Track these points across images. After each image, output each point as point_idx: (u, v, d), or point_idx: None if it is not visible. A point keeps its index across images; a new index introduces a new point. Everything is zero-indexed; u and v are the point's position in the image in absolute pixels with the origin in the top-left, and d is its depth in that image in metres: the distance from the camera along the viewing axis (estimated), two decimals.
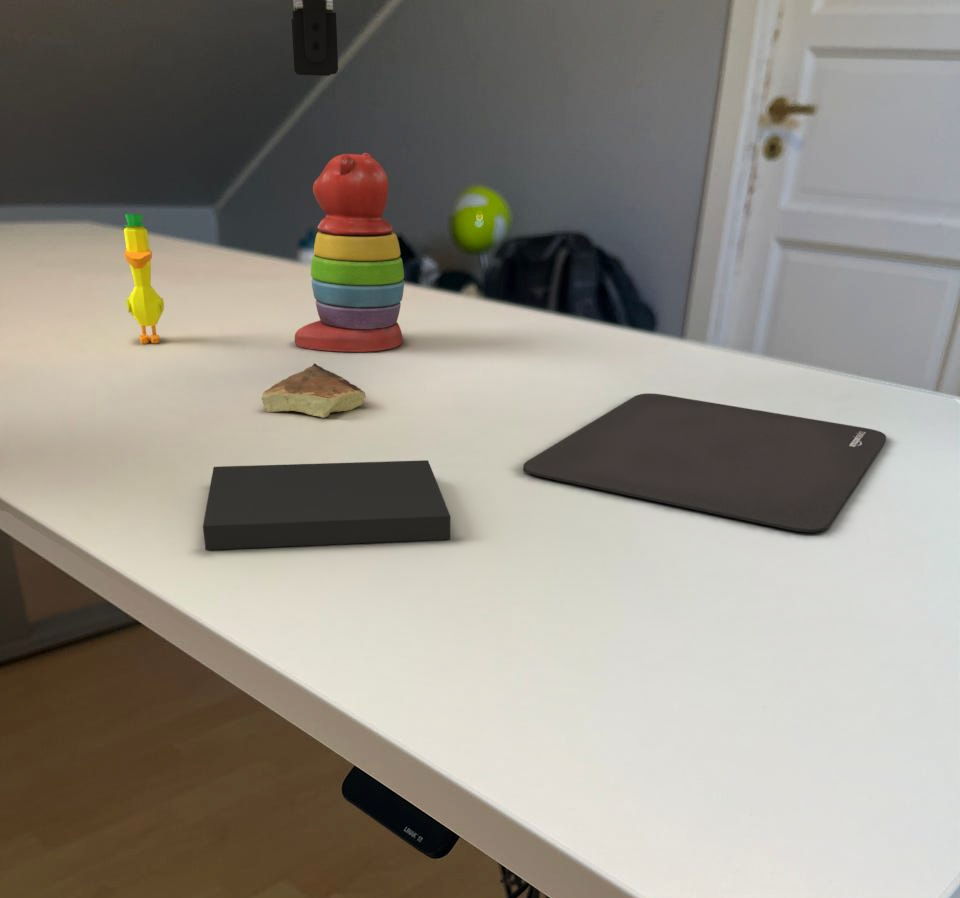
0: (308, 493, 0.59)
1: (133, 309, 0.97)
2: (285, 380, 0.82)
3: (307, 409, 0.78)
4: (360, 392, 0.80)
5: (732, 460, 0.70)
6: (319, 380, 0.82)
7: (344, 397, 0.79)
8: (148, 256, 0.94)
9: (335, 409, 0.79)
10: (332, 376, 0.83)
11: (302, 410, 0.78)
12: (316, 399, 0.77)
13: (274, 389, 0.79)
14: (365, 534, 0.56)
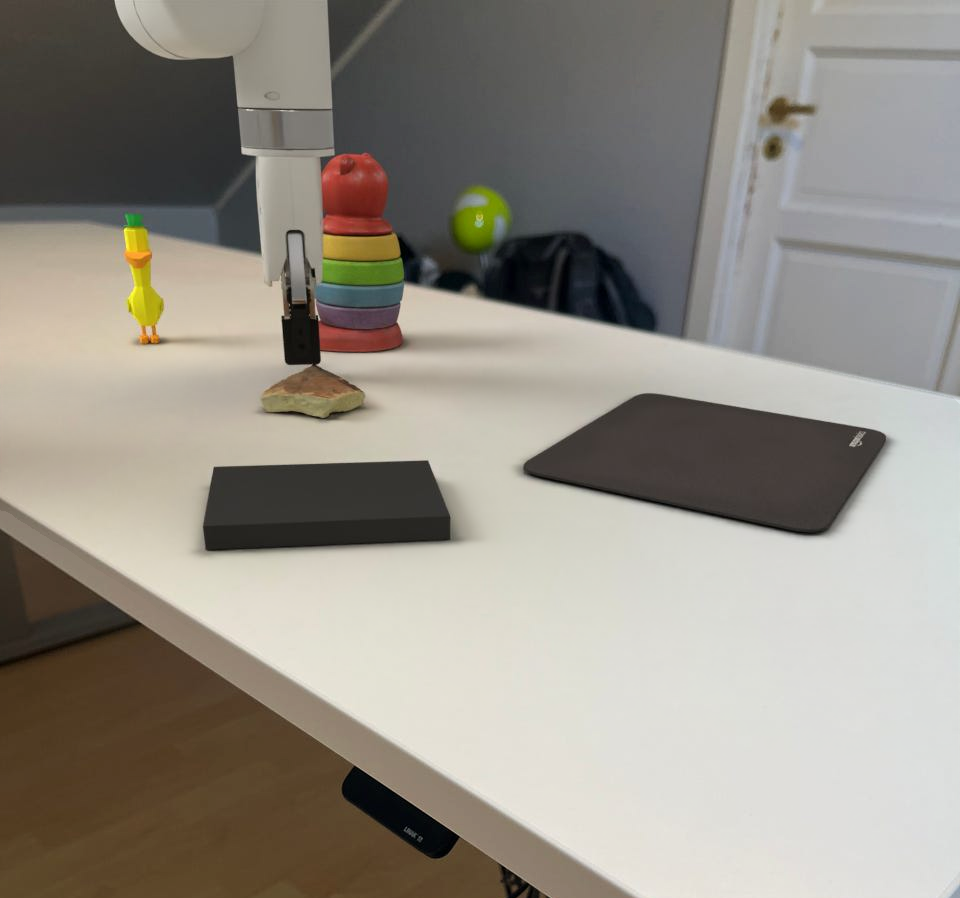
0: (308, 493, 0.59)
1: (133, 309, 0.97)
2: (284, 380, 0.82)
3: (307, 409, 0.78)
4: (360, 392, 0.80)
5: (732, 460, 0.70)
6: (318, 380, 0.81)
7: (344, 397, 0.79)
8: (148, 256, 0.94)
9: (335, 409, 0.79)
10: (331, 376, 0.83)
11: (302, 410, 0.78)
12: (316, 399, 0.77)
13: (273, 389, 0.79)
14: (365, 534, 0.56)
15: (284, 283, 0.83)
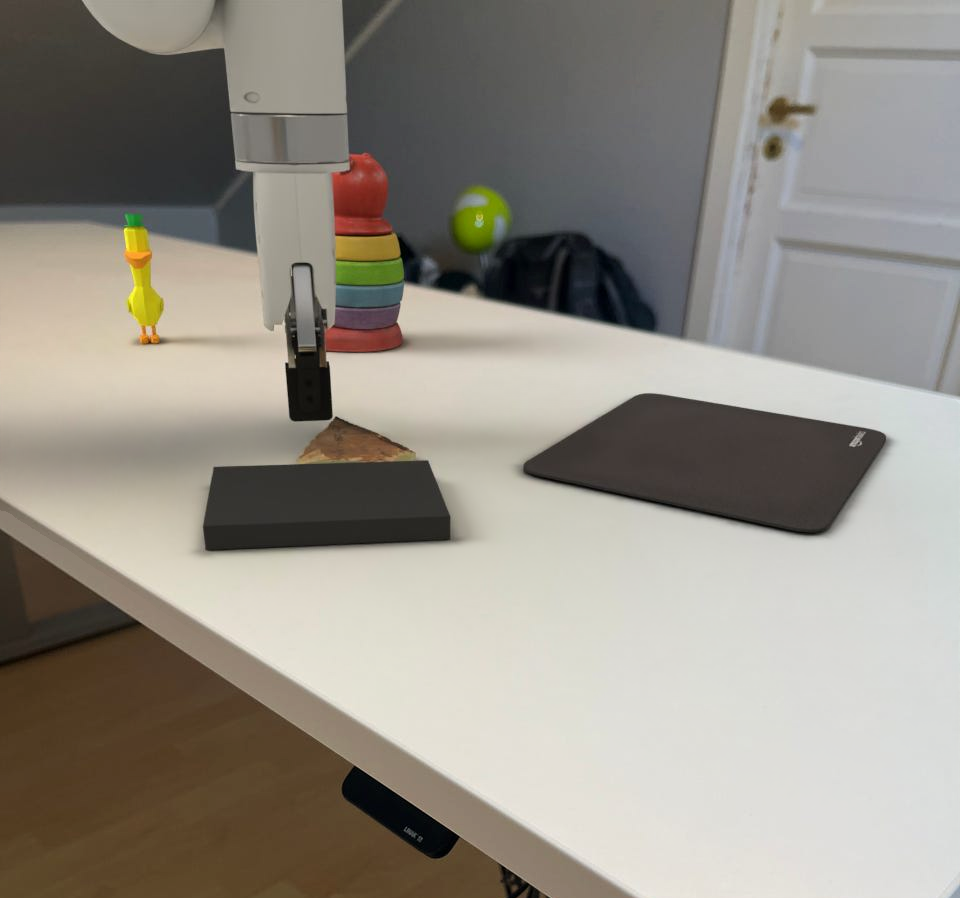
0: (308, 493, 0.59)
1: (133, 309, 0.97)
2: (315, 441, 0.69)
3: None
4: (410, 452, 0.68)
5: (732, 460, 0.70)
6: (356, 439, 0.69)
7: (395, 460, 0.67)
8: (148, 256, 0.94)
9: None
10: (367, 433, 0.71)
11: None
12: None
13: (309, 454, 0.67)
14: (365, 534, 0.56)
15: (288, 325, 0.68)
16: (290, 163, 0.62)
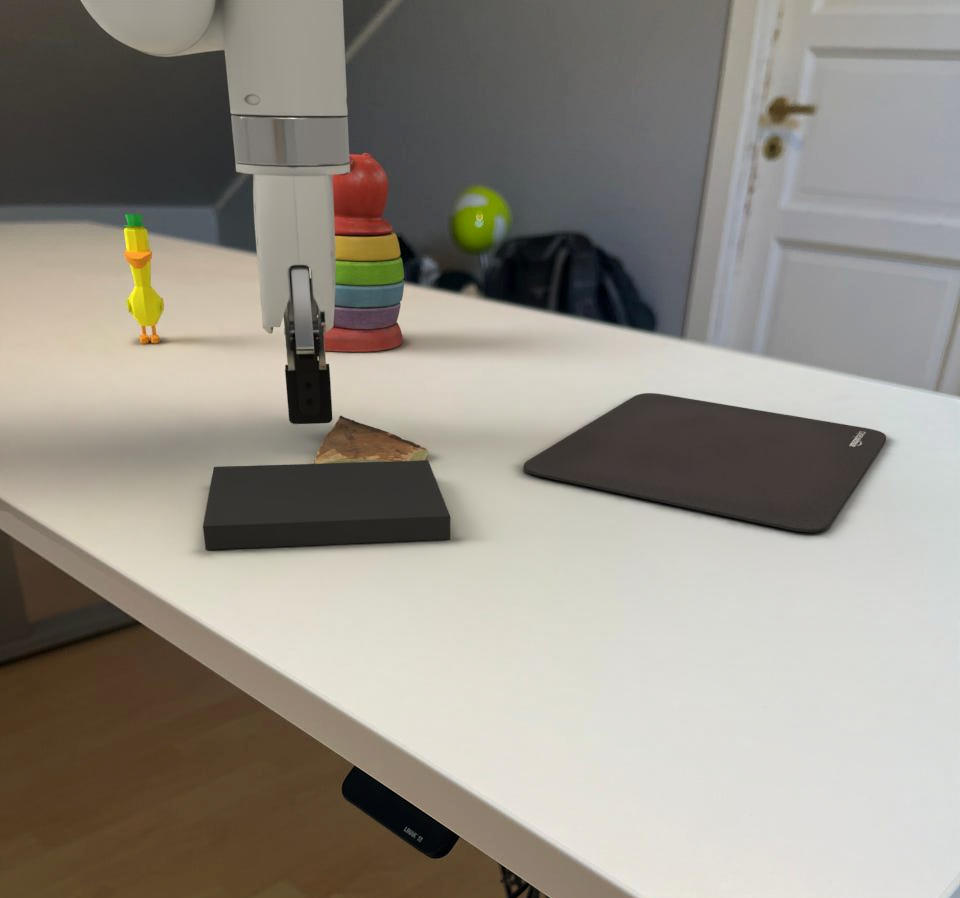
0: (308, 493, 0.59)
1: (133, 309, 0.97)
2: (327, 441, 0.70)
3: None
4: (423, 450, 0.69)
5: (732, 460, 0.70)
6: (368, 438, 0.70)
7: None
8: (148, 256, 0.94)
9: None
10: (376, 431, 0.72)
11: None
12: None
13: (325, 454, 0.67)
14: (365, 534, 0.56)
15: (288, 328, 0.68)
16: (289, 165, 0.61)
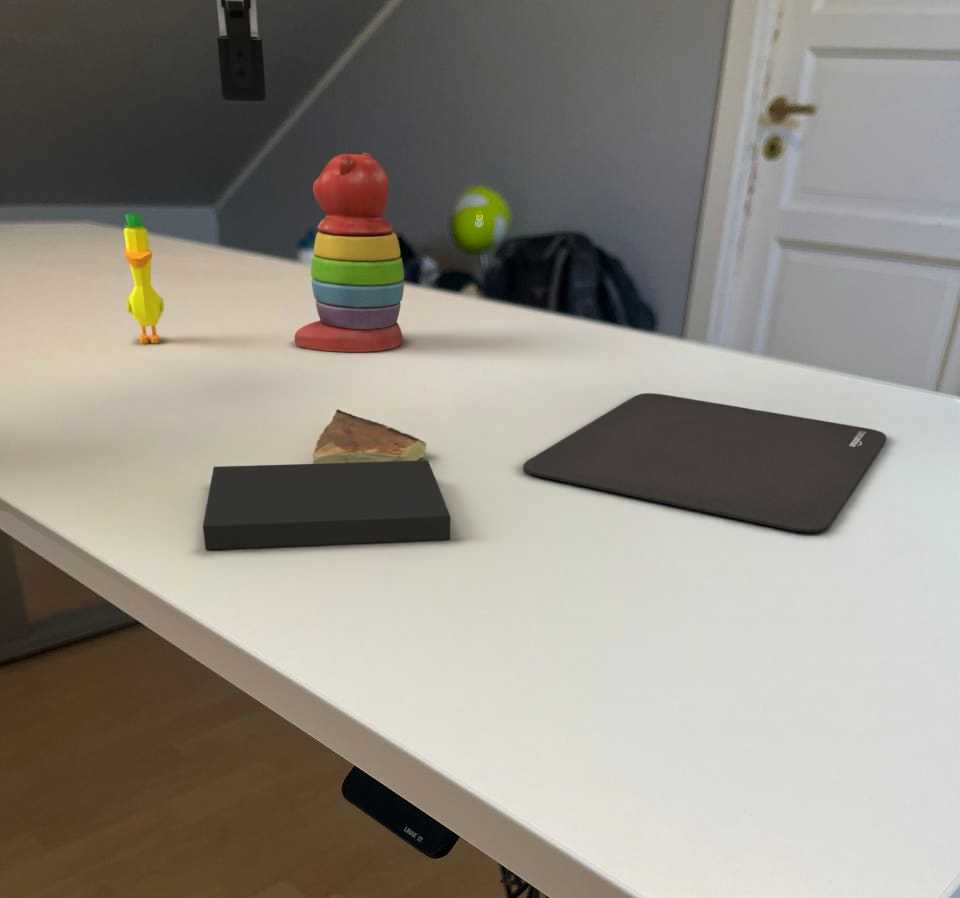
0: (308, 493, 0.59)
1: (133, 309, 0.97)
2: (325, 434, 0.70)
3: None
4: (421, 443, 0.69)
5: (732, 460, 0.70)
6: (366, 431, 0.70)
7: (410, 451, 0.68)
8: (148, 256, 0.94)
9: None
10: (374, 425, 0.72)
11: None
12: (383, 457, 0.66)
13: (324, 447, 0.67)
14: (365, 534, 0.56)
15: None
16: None
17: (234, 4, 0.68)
